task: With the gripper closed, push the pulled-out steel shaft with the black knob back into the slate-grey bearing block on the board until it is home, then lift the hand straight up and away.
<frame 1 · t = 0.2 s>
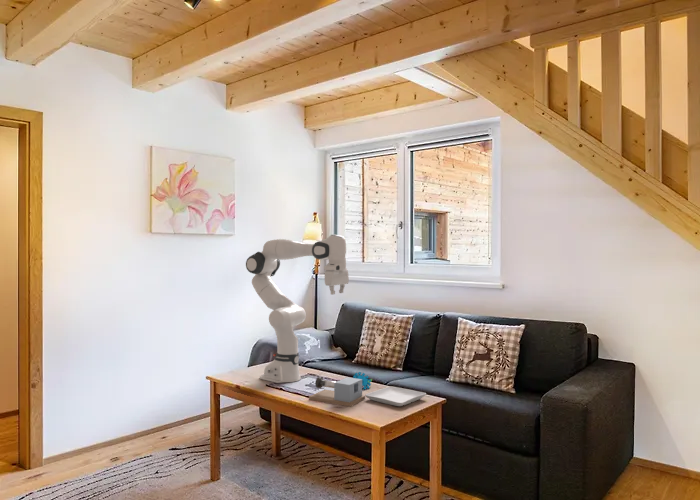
hand: (337, 293, 268), 47 cm above the table, fingers open, 8 cm apart
gear: (362, 388, 267), on the table
shaft: (330, 384, 248), point 6 cm above the table, slide at 7.0 cm
bearing block: (348, 401, 243), on the table
salad plate: (395, 401, 246), on the table
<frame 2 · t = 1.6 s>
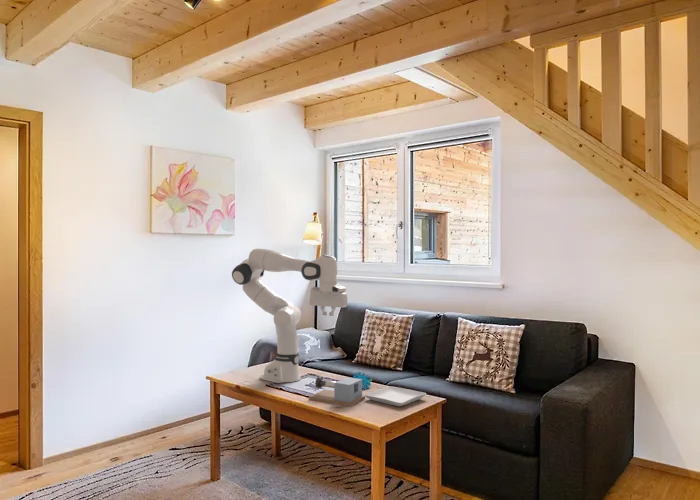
hand: (328, 315, 262), 37 cm above the table, fingers open, 3 cm apart
nothing on the table moved.
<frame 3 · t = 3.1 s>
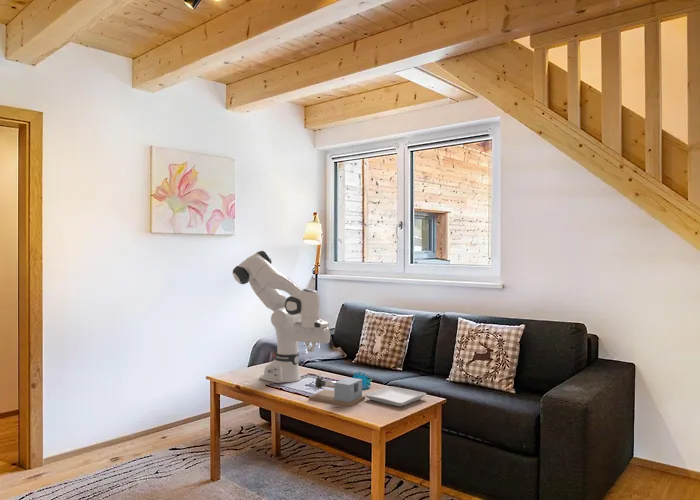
hand: (310, 351, 254), 21 cm above the table, fingers closed
nothing on the table moved.
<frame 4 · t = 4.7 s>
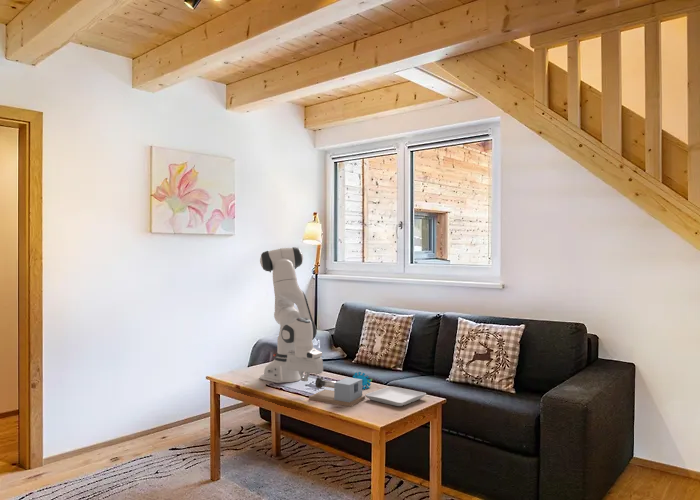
hand: (304, 380, 253), 7 cm above the table, fingers closed
nothing on the table moved.
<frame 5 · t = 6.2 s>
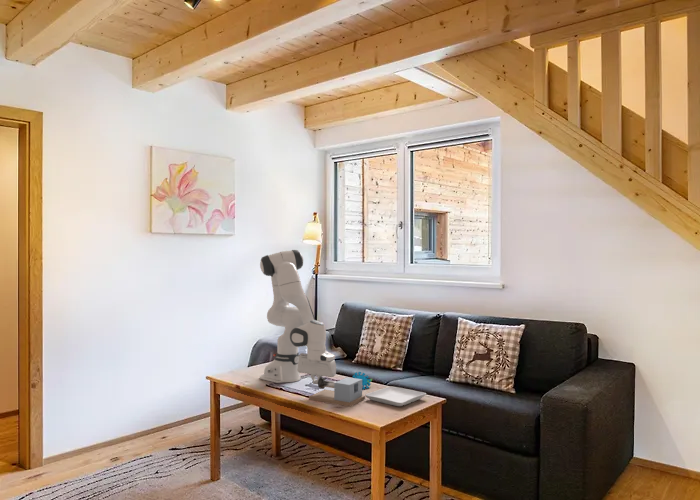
hand: (316, 384, 251), 6 cm above the table, fingers closed
shaft: (332, 384, 247), point 6 cm above the table, slide at 5.5 cm, touching gripper
everything else where it was.
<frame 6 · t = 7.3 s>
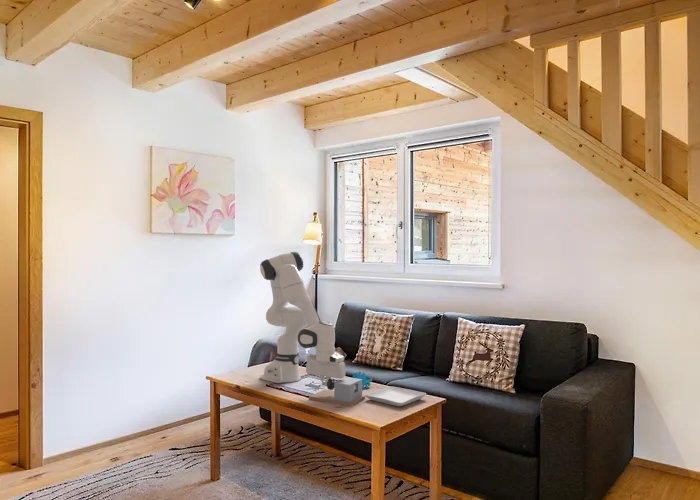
hand: (325, 385, 249), 6 cm above the table, fingers closed
shaft: (342, 386, 245), point 6 cm above the table, slide at 0.5 cm, touching gripper
everything else where it was.
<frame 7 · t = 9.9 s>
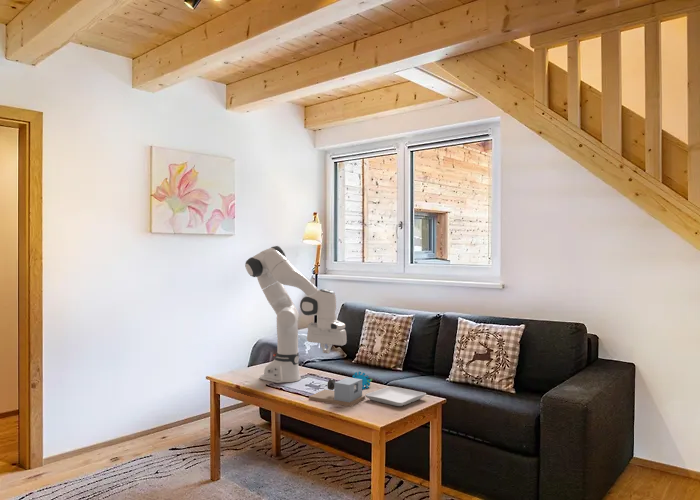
hand: (326, 353, 249), 21 cm above the table, fingers closed
shaft: (342, 386, 245), point 7 cm above the table, slide at 0.3 cm
everything else where it was.
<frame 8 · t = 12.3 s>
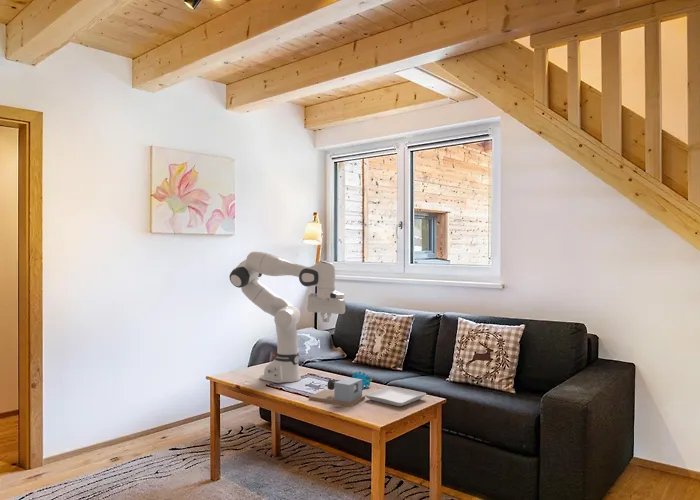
hand: (325, 322, 260), 34 cm above the table, fingers closed
at the end: shaft slide at 0.3 cm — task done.
